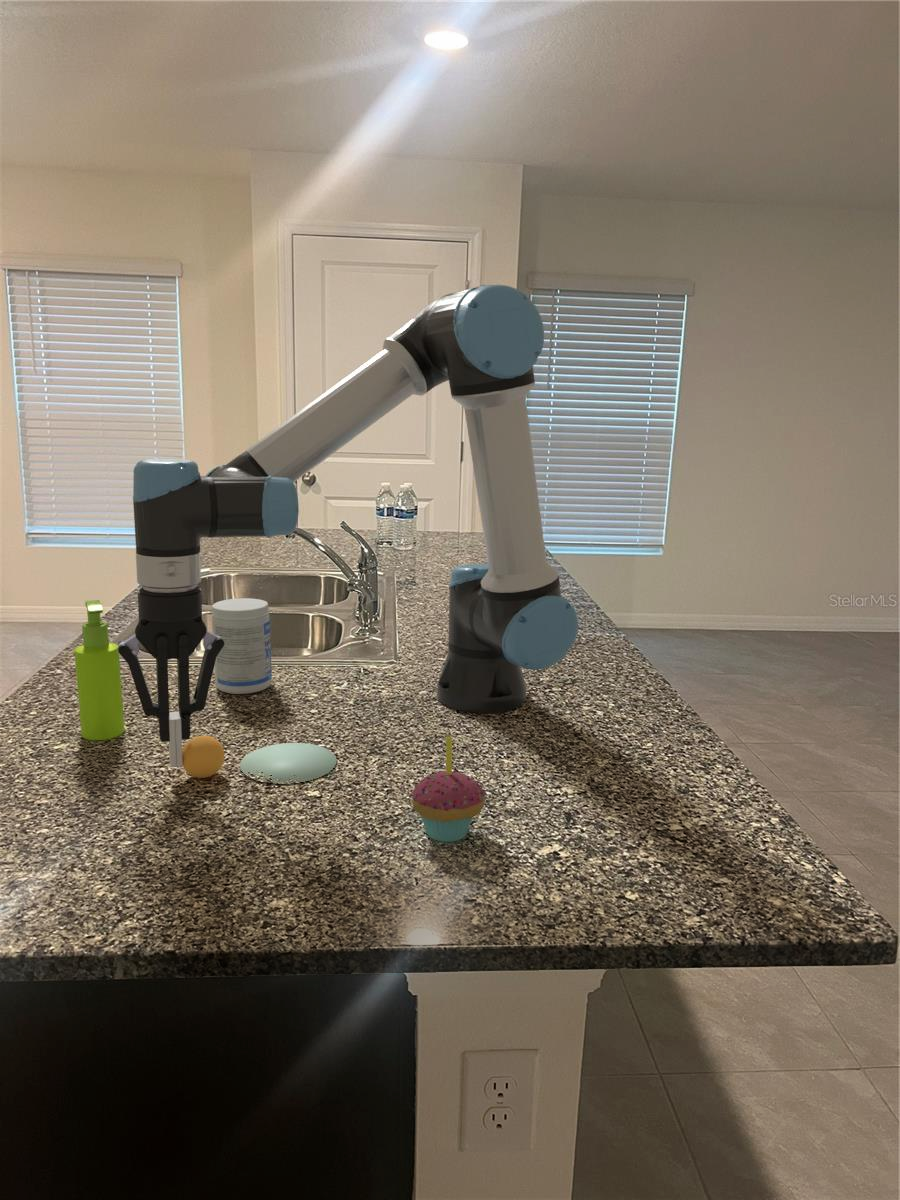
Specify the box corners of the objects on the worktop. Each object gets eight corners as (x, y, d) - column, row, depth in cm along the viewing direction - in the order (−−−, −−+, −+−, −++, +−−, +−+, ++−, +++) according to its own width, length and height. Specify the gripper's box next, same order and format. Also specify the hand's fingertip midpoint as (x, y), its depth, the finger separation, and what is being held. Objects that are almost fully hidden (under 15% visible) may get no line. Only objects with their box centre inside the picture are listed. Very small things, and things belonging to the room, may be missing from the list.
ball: (209, 788, 111) (239, 758, 112) (190, 784, 106) (222, 752, 107) (184, 760, 113) (214, 730, 114) (165, 754, 108) (196, 723, 108)
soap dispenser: (83, 745, 119) (72, 609, 114) (80, 728, 124) (68, 598, 120) (127, 739, 121) (118, 605, 116) (121, 722, 127) (112, 595, 122)
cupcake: (410, 815, 101) (411, 723, 99) (479, 813, 102) (482, 722, 99) (413, 852, 93) (414, 753, 90) (488, 851, 94) (492, 752, 91)
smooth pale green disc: (353, 754, 118) (353, 752, 118) (304, 792, 106) (304, 790, 106) (275, 738, 123) (275, 736, 123) (220, 773, 111) (220, 771, 111)
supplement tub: (280, 690, 143) (278, 607, 139) (226, 699, 138) (222, 613, 134) (259, 674, 151) (257, 595, 147) (207, 682, 145) (203, 600, 142)
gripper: (114, 595, 97) (123, 781, 103) (227, 590, 102) (231, 768, 108) (112, 581, 104) (121, 757, 109) (219, 577, 109) (222, 745, 114)
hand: (175, 762), depth 108 cm, fingers closed
